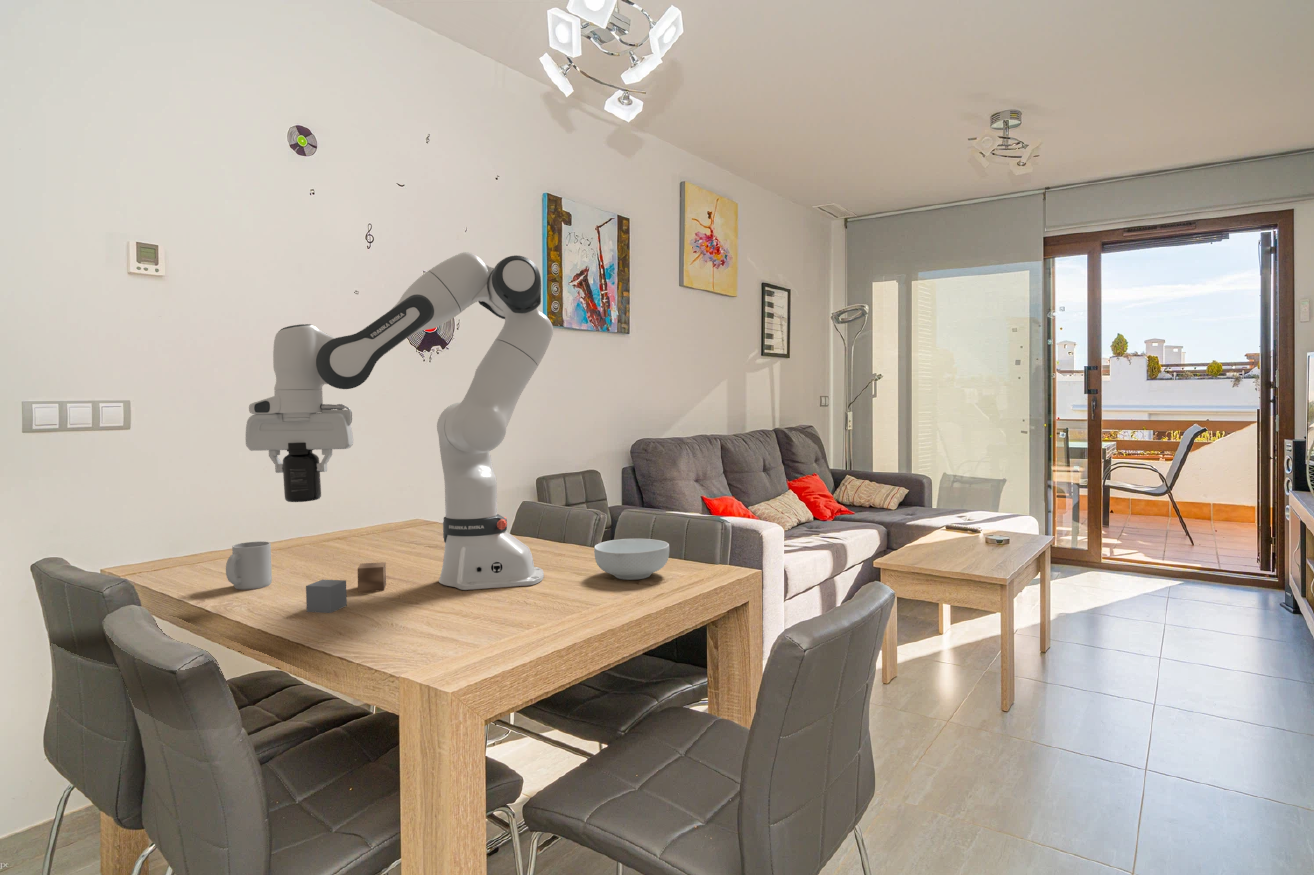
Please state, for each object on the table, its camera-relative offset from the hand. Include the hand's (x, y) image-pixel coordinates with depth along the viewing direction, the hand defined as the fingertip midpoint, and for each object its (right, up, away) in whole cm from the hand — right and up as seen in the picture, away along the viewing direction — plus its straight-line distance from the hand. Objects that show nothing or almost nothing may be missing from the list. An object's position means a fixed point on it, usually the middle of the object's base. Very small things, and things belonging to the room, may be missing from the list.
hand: (301, 472), depth 151 cm
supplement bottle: (0, -6, +1) cm, 6 cm away
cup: (-14, -25, +6) cm, 29 cm away
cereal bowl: (+67, -24, +14) cm, 73 cm away
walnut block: (+13, -25, +4) cm, 28 cm away
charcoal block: (+10, -26, -11) cm, 30 cm away
